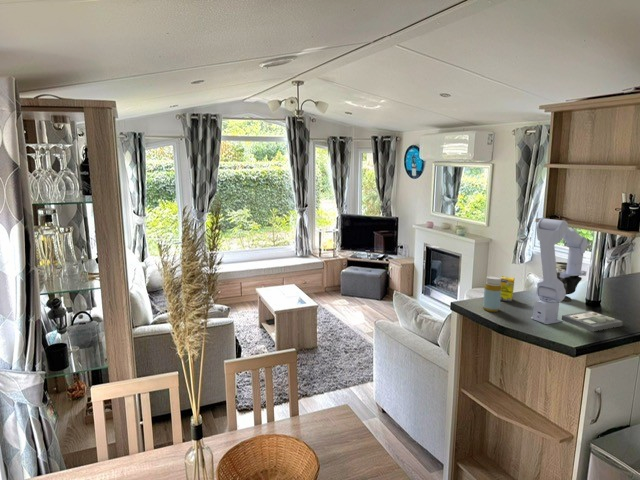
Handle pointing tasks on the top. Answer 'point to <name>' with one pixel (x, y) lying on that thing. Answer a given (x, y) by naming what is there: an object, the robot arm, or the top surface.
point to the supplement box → (507, 288)
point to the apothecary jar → (562, 268)
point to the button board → (587, 315)
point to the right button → (609, 318)
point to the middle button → (599, 319)
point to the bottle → (492, 294)
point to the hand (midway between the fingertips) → (570, 292)
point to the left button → (589, 322)
